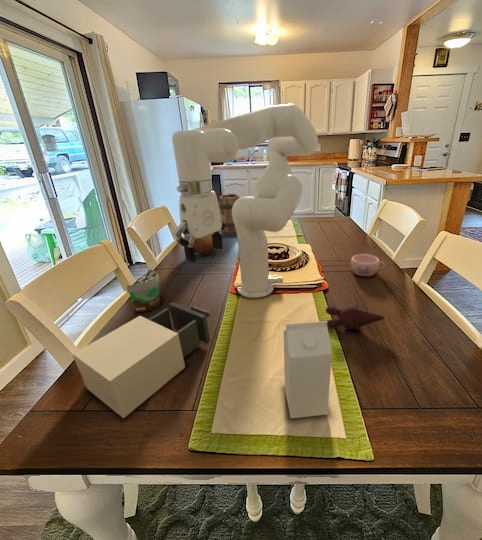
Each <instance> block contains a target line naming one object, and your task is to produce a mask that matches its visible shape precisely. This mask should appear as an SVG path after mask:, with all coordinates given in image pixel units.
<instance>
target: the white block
mask: <svg viewBox="0 0 482 540" xmlns="http://www.w3.org/2000/svg"><path fill="white" fill-rule="evenodd" d="M148 319H149V318H146V317H144V316H141V315H139V316H137V317H135V318H133V319H131V320H130V321H128V322H126V323H124V324H123V325H121V326H119V327H118V328H115V329H113V330H112V331H110V332H109V333H106V334H105V335H103V336H102V337H100V338H98V339H96V340H95V341H93V342H91V343H89V344H87V345H85V346H84V347H82V348H80V349H79V350H77V351H75V352H73V353H72V356H73V360H74V361H75V364H76V366H77V368H78V371H79V373H80V376H81V378H82V380H83V382H84V385H85V388H86V390H88V391H89V392H90V393H91V394H93V395H94V396H95V397H96V398H98V399H99V400H100V401H101V402H103V403H104V404H105V405H107V407H108V408H109V409H111V410H112V411H114V412H115V413H116V414H117V415H119V416H120V417H121V418H122V419H125V418H126V417H128V415H130V414H131V413H133V411H135V410H136V409H137V408H138V407H139V406H141V405H142V404H143V403H144V402H145V401H146V400H148V399H149V398H150V397H151V396H153V395H154V394H155V393H156V392H157V391H158V390H160V389H162V388H163V386H165V385H166V384H167V383H168V382H169V381H170V380H172V379H173V378H174V377H176V376H177V375H178V374H179V373H180V372H181V371H182V370H184V369H185V368H186V364H185V358H183V354H182V350H181V345H180V340H179V336H178V333H176V332H174V331H171V330H169V329H167V328H165V327H163V326H161V325H159V324H157V323H155V322H152V321H150V320H148Z"/></svg>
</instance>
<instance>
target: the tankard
mask: <svg viewBox="0 0 482 540" xmlns="http://www.w3.org/2000/svg"><path fill="white" fill-rule="evenodd" d="M239 198H240V195H239V194H236V193H227V194H222V195H220V196H219V200H218V203H219V208H220V213H221V214H222V215H224V216H226V220H225V223H224V224H225V227H224V229H223V234H222V238H236V237H237V232H236V228H235V225H234V221H233V217H232V207H233V204H234V203H235V201H236V200H237V199H239Z"/></svg>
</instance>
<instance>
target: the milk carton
mask: <svg viewBox="0 0 482 540" xmlns="http://www.w3.org/2000/svg"><path fill="white" fill-rule="evenodd" d="M327 321H328V320H321V321H310V322H299V323H298V322H297V323H288V324H286V325H285V328H286V329H284V330H283V363H284V366H283V370H284V391H285V396H286V403H287V408H288V413H289V418H290V419H298V418H306V417H307V418H308V417H317V416H326V415H328V412H329V410H328V409H329V398H330V383H331V371H332V353H333V351H332V345H331V340H330V335H329V330H328V326H327Z"/></svg>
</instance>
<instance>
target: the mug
mask: <svg viewBox="0 0 482 540" xmlns="http://www.w3.org/2000/svg"><path fill="white" fill-rule="evenodd" d="M381 264H382V267H380V265H381ZM350 268H351V271H352V272H353V273H354V274H355V275H357V276H359V277H372V276H374V275H376V274H377V272H378V271H382V270H384V269H385V268H386V263H385V261H381V260H380V258H378V257H377V256H376V255H373V254H369V253H357V254H356V255H353V256H352V257H351V260H350Z"/></svg>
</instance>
